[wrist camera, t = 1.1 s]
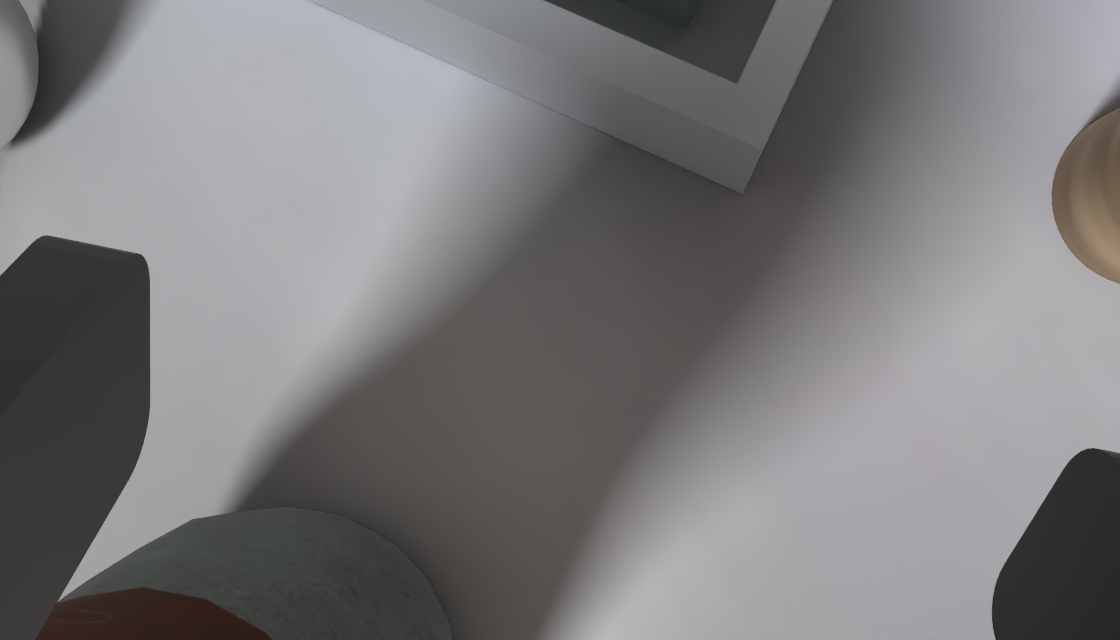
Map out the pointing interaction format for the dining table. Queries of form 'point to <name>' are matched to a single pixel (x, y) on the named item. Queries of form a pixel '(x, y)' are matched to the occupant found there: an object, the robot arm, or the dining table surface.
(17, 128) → the plastic bottle
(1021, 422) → the dining table surface
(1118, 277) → the peg
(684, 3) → the plate
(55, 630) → the vodka
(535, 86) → the box
